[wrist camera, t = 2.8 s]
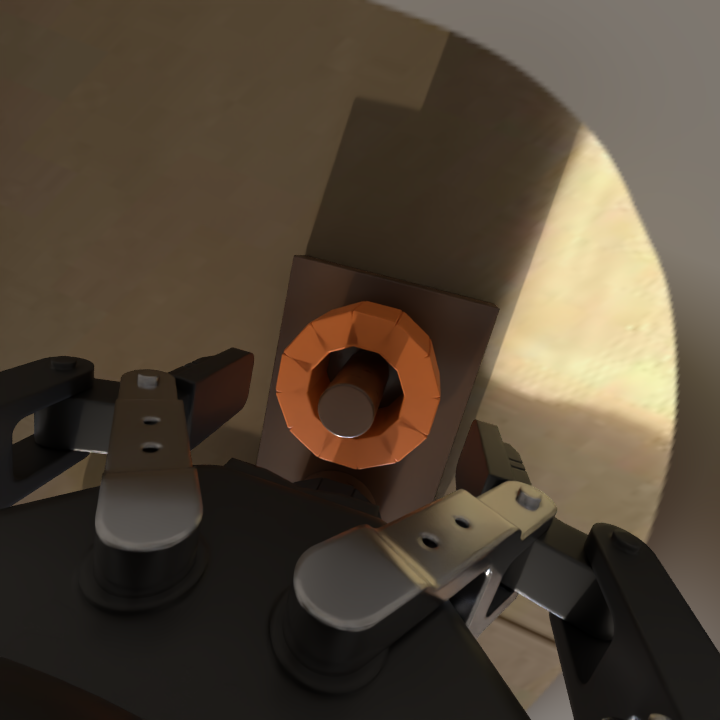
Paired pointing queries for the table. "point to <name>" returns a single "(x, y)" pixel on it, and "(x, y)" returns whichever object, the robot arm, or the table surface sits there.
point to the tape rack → (376, 381)
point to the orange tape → (391, 424)
